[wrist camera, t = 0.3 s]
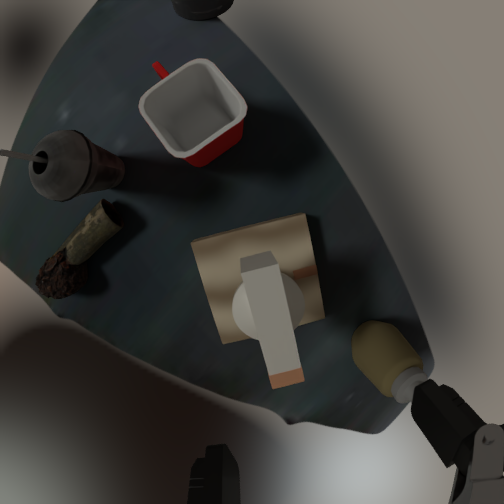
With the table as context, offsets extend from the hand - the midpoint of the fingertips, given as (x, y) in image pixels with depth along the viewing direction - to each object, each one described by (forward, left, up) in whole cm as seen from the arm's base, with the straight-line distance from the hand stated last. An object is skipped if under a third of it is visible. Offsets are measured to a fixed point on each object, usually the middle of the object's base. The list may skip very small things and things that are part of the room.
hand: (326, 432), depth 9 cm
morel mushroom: (-8, -25, -28) cm, 38 cm away
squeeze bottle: (+16, +13, -28) cm, 34 cm away
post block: (+2, -1, -28) cm, 28 cm away
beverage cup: (-17, -17, -28) cm, 37 cm away
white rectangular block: (+2, -1, -18) cm, 19 cm away
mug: (-20, -4, -28) cm, 35 cm away
